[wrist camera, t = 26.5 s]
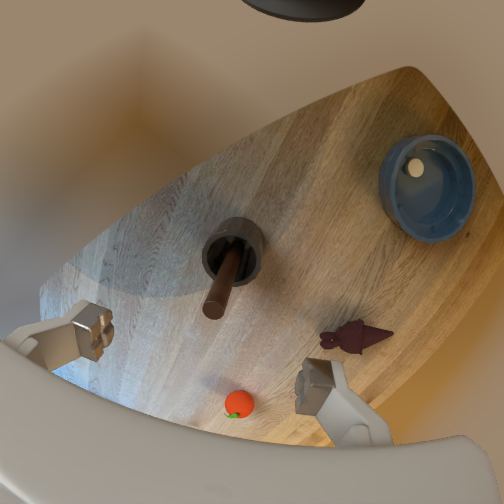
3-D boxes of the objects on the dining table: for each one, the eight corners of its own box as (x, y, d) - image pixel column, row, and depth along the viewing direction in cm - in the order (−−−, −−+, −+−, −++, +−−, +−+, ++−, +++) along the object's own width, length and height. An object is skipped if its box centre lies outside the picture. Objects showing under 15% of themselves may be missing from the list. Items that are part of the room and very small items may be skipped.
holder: (203, 238, 49) (190, 255, 41) (240, 206, 46) (233, 218, 39) (236, 274, 51) (229, 296, 43) (274, 245, 48) (274, 264, 41)
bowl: (357, 172, 42) (369, 175, 37) (427, 117, 37) (445, 115, 32) (407, 250, 46) (421, 263, 41) (469, 197, 41) (487, 203, 35)
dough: (401, 163, 40) (405, 163, 39) (414, 154, 39) (418, 155, 38) (409, 179, 41) (413, 180, 39) (422, 170, 40) (426, 171, 39)
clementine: (235, 406, 64) (232, 427, 57) (218, 391, 62) (212, 413, 56) (261, 396, 62) (259, 419, 55) (243, 381, 60) (240, 404, 54)
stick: (227, 246, 48) (197, 309, 30) (237, 237, 47) (212, 297, 29) (237, 256, 49) (213, 323, 30) (247, 247, 48) (228, 312, 29)
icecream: (399, 321, 44) (319, 329, 47) (396, 357, 45) (320, 364, 48) (390, 310, 51) (318, 316, 54) (388, 342, 52) (319, 348, 55)
